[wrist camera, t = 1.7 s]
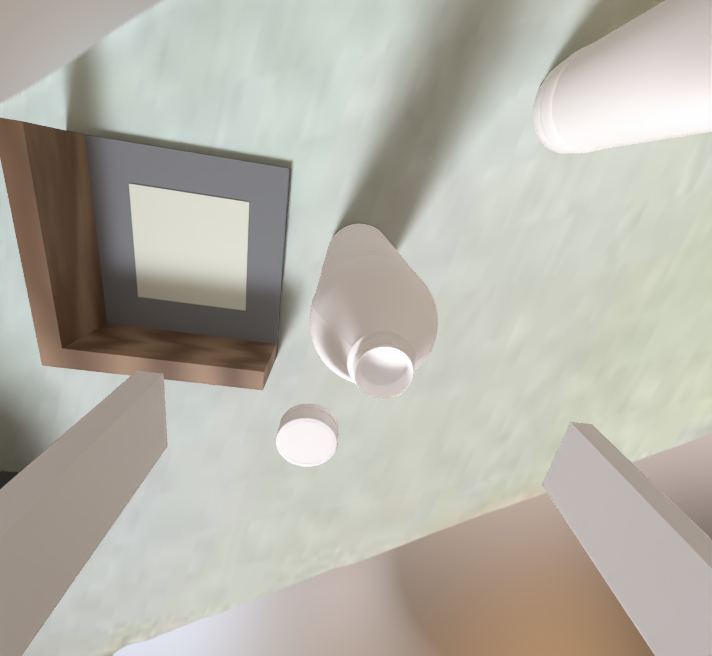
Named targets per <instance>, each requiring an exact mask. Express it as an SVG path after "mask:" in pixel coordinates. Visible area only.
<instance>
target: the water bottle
mask: <svg viewBox="0 0 712 656" xmlns="http://www.w3.org/2000/svg"><path fill="white" fill-rule="evenodd" d="M437 325H438V318H437V310H436V305H435V302H434V299H433V297H432V294H431V292H430V291H429V289H428V287H427V286H426V284H425V283H424V282H423V280H422V279H421V278H420V277H419V276H418V275H417V274H416V273H415V272H414V271H413V270H412V268H411V267H410V266H409V265H408V264H407V263H406V261H405V260H404V259H403V258H402V256H401V255H400V254H399V252H398V251H397V250H396V249H395V248H394V247H393V245H392V244H391V243H390V242H389V241H388V240H387V238H386V237H385V236H384V235H383V234H382V233H381V232H380V231H379V230H378V229H376V228H375V227H373V226H370V225H367V224H361V223H358V224H351V225H348V226H346V227H344V228H342V229H341V230H339V231H338V232H337V233H336V234H335V235H334V237H333V238H332V240H331V242H330V244H329V247H328V250H327V254H326V257H325V261H324V264H323V267H322V271H321V276H320V279H319V283H318V286H317V290H316V294H315V296H314V298H313V301H312V306H311V312H310V332H311V337H312V340H313V343H314V346H315V348H316V350H317V352H318V354H319V356H320V357H321V359H322V360H323V361H324V363H325V364H326V365H327V366H328V367H329V368H330V369H331V370H332V371H333V372H335V373H336V374H337V375H339V376H341V377H342V378H344V379H346V380H348V381H351V382H354V383H356V384H357V386H358V387H359V389H360V390H361V391H362V392H363V393H365V394H366V395H368V396H370V397H373V398H377V399H389V398H393V397H395V396H398V395H400V394H401V393H403V392H404V391H405V390H406V389H407V388H408V387H409V385H410V384H411V382H412V379H413V376H414V371H415V370H416V369H417V368H418V367H419V366H420V365H421V364H422V363H423V362H424V361H425V359H426V358H427V356H428V355H429V353H430V352H431V350H432V347H433V345H434V342H435V338H436V334H437ZM301 408H302V409H301ZM312 408H314V409H312ZM317 409H318V410H317ZM324 412H325V413H324ZM276 436H277V437H276V445H277V449H278V451H279V453H280V454H281V455H282V456H283V457H284V458H285V459H286V460H287V461H289V462H291V463H293V464H295V465H299V466H306V467H309V466H316V465H319V464H322V463H324V462H326V461H327V460H329V459H330V458H331V457H332V456H333V454H334V453H335V451H336V448H337V445H338V424H337V421H336V419H335V417H334V416H333V414H332V413H331V412H330V411H328V410H327V409H326V408H324V407H322V406H319V405H315V404H301V405H297V406H295V407H293V408H291V409H289V410H288V411H287V412H286V413H285V414H284V415H283V417H282V418H281V421H280V424H279V427H278V432H277V435H276Z"/></svg>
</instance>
